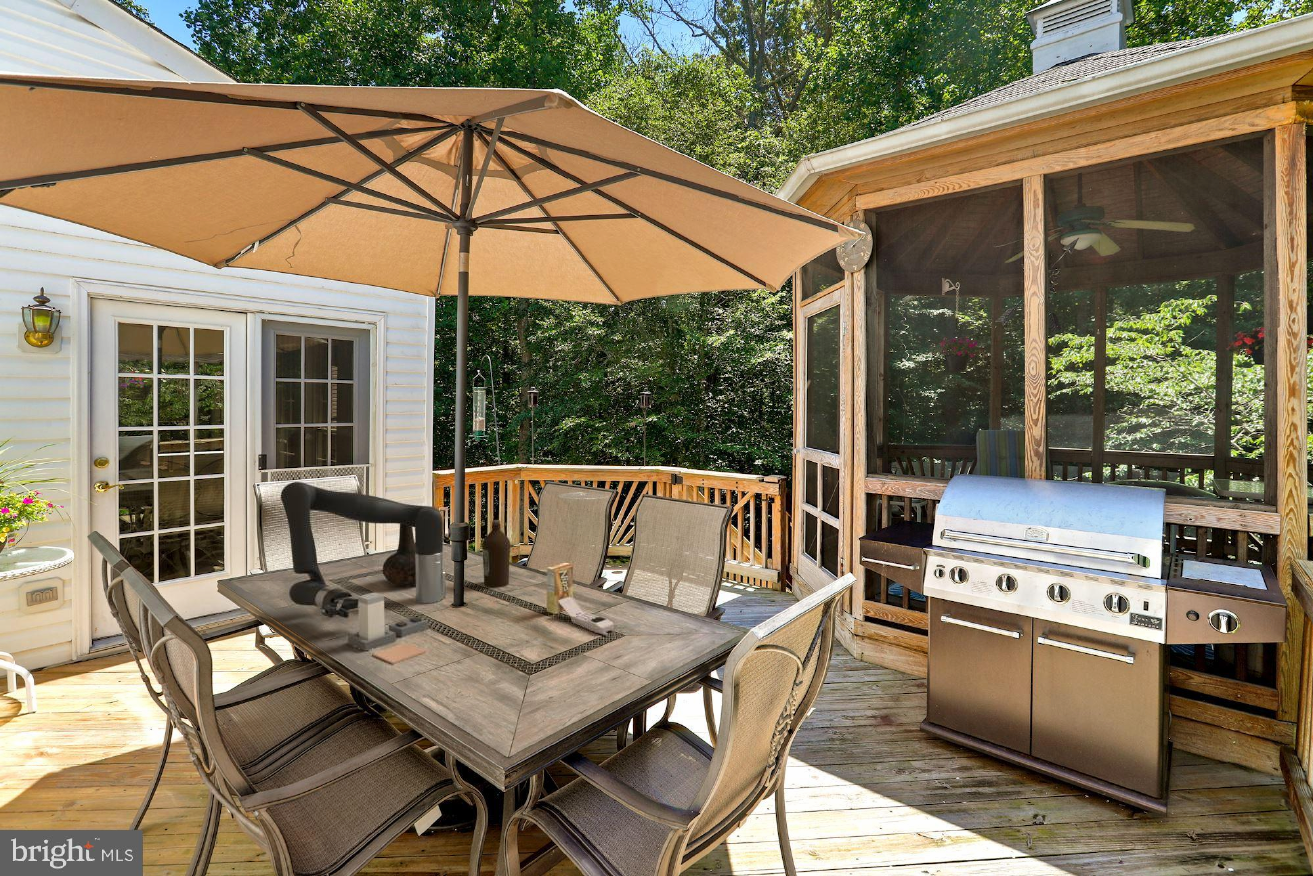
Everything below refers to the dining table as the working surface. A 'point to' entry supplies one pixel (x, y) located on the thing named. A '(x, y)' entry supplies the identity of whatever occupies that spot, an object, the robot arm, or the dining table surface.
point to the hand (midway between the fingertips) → (361, 610)
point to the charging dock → (389, 633)
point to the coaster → (399, 653)
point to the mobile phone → (585, 617)
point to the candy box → (559, 586)
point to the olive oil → (496, 557)
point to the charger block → (371, 616)
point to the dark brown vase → (402, 560)
